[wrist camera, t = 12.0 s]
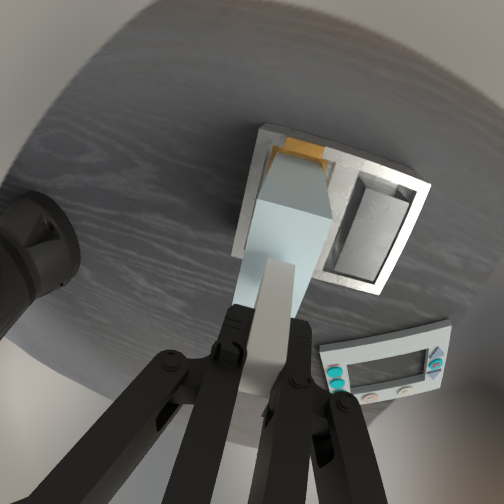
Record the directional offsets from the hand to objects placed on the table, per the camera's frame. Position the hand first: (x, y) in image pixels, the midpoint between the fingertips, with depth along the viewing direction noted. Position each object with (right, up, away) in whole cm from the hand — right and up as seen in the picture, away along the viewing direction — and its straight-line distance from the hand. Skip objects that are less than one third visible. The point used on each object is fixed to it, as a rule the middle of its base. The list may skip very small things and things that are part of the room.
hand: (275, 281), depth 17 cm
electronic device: (+19, -15, +24) cm, 34 cm away
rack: (+6, +6, +13) cm, 15 cm away
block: (+2, +6, +11) cm, 13 cm away
